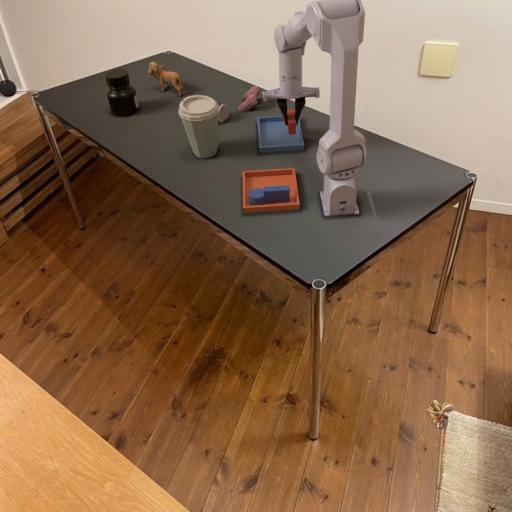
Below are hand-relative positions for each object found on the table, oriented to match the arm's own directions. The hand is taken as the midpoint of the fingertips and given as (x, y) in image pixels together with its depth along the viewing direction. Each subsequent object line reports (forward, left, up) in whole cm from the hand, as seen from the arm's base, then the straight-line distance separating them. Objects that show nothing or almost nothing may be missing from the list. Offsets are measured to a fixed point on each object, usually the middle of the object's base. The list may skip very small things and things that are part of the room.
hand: (291, 123), depth 136 cm
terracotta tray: (-22, +7, -6) cm, 24 cm away
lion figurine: (+40, +38, -7) cm, 55 cm away
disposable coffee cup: (-1, +24, -7) cm, 25 cm away
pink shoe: (+25, +11, -7) cm, 28 cm away
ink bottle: (+28, +51, -7) cm, 58 cm away
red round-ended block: (+2, 0, -2) cm, 2 cm away
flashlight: (+20, +25, -7) cm, 32 cm away
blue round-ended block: (-26, +7, -6) cm, 28 cm away
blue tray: (+5, +3, -6) cm, 8 cm away
